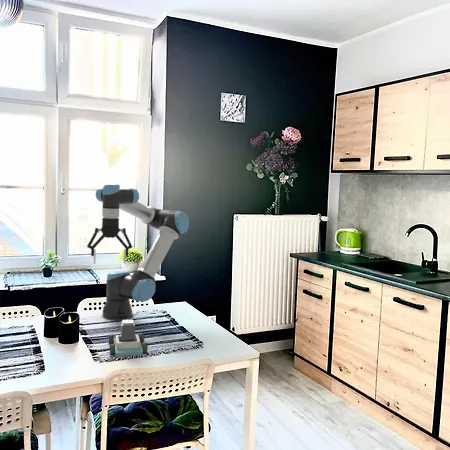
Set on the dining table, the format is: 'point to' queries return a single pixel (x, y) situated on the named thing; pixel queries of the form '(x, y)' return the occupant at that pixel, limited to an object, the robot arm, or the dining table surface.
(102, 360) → the dining table surface
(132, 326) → the grey upright block
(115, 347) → the chassis
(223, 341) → the dining table surface
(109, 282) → the robot arm
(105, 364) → the dining table surface
